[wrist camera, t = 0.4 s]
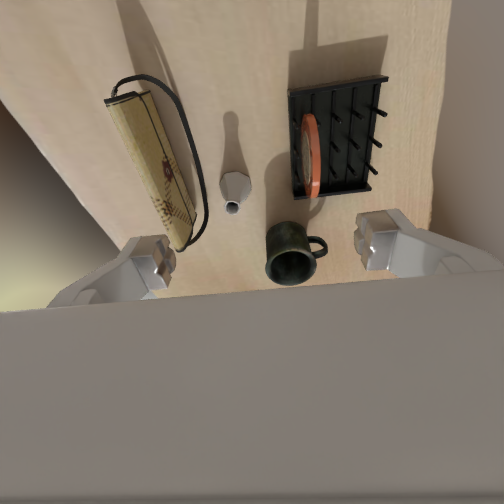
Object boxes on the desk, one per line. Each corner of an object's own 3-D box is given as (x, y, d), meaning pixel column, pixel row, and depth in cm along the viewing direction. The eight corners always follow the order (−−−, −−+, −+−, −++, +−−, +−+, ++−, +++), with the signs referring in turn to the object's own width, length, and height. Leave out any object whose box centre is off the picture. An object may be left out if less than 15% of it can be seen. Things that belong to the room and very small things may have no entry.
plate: (299, 107, 47) (312, 125, 36) (306, 106, 47) (322, 123, 36) (301, 180, 56) (312, 212, 45) (307, 179, 56) (320, 211, 45)
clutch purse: (217, 215, 63) (208, 253, 51) (190, 219, 64) (174, 258, 52) (169, 67, 45) (138, 73, 33) (132, 76, 46) (89, 86, 34)
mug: (258, 226, 64) (259, 256, 55) (317, 210, 61) (328, 239, 52) (270, 258, 71) (272, 290, 61) (324, 245, 68) (335, 276, 58)
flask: (254, 173, 56) (253, 193, 48) (249, 203, 61) (248, 226, 53) (220, 168, 56) (214, 187, 48) (218, 198, 60) (212, 221, 52)
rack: (287, 89, 47) (291, 94, 41) (379, 74, 45) (397, 78, 40) (292, 192, 59) (296, 207, 53) (365, 183, 57) (376, 197, 52)
